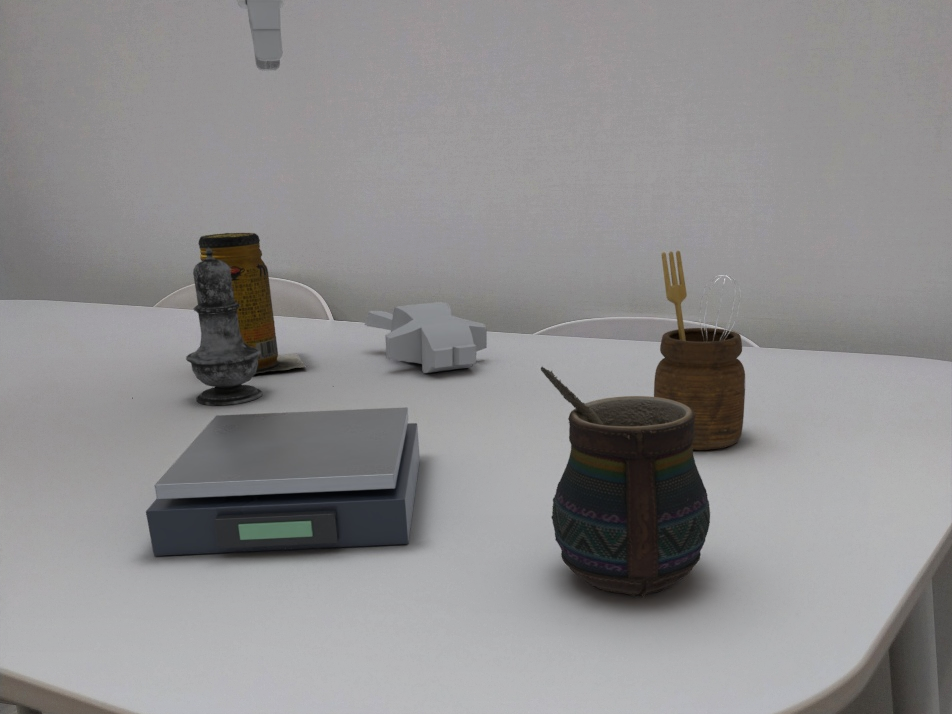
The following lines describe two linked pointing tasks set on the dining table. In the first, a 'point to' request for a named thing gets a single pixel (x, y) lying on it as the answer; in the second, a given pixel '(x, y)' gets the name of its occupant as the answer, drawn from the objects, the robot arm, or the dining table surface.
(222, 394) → the salt shaker
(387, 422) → the scale pan
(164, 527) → the scale
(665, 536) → the mate gourd
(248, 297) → the condiment
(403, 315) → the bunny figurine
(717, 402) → the utensil holder
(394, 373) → the dining table surface
